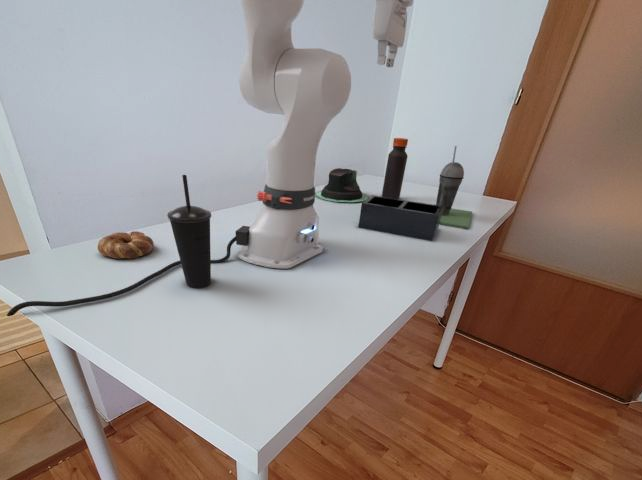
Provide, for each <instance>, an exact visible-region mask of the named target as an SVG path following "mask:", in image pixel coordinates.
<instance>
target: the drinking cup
mask: <svg viewBox="0 0 642 480" xmlns="http://www.w3.org/2000/svg"><path fill="white" fill-rule="evenodd" d="M181 177H182V184H183V192H184V198H185V205H181V206H179V207H175V208H174V209H173V210H170V211H169V212H167V214H166V216H167V219H168V220H169V222H170V226H171V230H172V234H173V238H174V241H175V245H176V246H175V247H176V250H177V254H178V257H179V261H181V264H180V265H181V268H182V273H183V277H184V280H185V284H186V286H187V287H189V288H192V289H203V288H207V287H209V286H210V285H211V283H212V271H211V270H212V267H211V266H212V265H211V264H212V263H211V260H212V259H211V217H212V212H211V211H210V210H207V209H205V208H203V207H200V206H197V205H191V200H190V193H189V184H188V176H187V175H186V174H182V175H181Z"/></svg>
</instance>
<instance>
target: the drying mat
mask: <svg viewBox="0 0 642 480" xmlns="http://www.w3.org/2000/svg"><path fill="white" fill-rule="evenodd" d="M472 215H473V211H471V210H465V209H458V208H452V207H451V210H450V212H449V215H447V216H441V219H440V223H439V226H440V225H441V226H446V227H453V228H459V229H463V230H464V229H465V230H469V226H470V223H471V218H472Z"/></svg>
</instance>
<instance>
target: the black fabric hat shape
mask: <svg viewBox="0 0 642 480" xmlns="http://www.w3.org/2000/svg"><path fill="white" fill-rule="evenodd" d="M357 175H358V171H357V170H355V169H353V170H352V169H350V168H342V167H341V168H340V167H338V168H334V169H332V170H330V172H329V173H328V182H327V184H326V185H324V187H322V189H321V190H320V191H318V192H315V197H317V198H319V199H321V200H323V201H329V202H335V203H356V202H358V203H359V202H364V201H365V200H367V199H368V198H369V196H367V195H365V194H364V193H363V192H362V190H361V188H360V185H359V184H358V181H357Z"/></svg>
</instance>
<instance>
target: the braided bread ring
mask: <svg viewBox="0 0 642 480" xmlns="http://www.w3.org/2000/svg"><path fill="white" fill-rule="evenodd" d="M154 247H155V242H154V240H153V238H151V236H148V235H145V233H144V232H141V231H134V230H133V231H130V232H129V233H128V232H114V233H112V234H109V235H106V236H104V237H102V238H101V239H100V240H99V241H98V243H97V251H98V253H99V254H100V255H102V256H104V257H107V258H108V257H110V258H113V259H115V260H119V259H129V260H131V259H136V258H138V257H140V256H145V255H147V254H149V253H151V251H152V250H153V249H154Z"/></svg>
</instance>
